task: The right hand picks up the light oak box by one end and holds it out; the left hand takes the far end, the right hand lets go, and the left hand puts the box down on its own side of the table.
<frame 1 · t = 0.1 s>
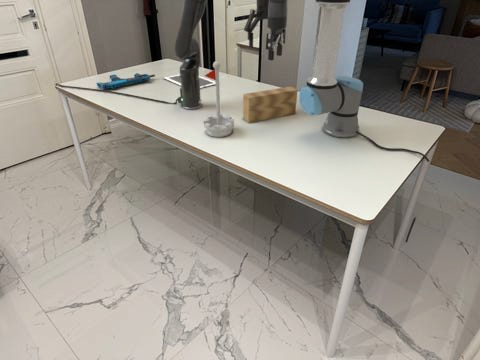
left hand: (275, 57, 141), 29 cm above the table, tool pointing down, fingers open, 8 cm apart
right hand: (263, 45, 167), 28 cm above the table, tool pointing down, fingers open, 13 cm apart
flag stand: (219, 131, 149), on the table
box: (269, 116, 164), on the table
tablet: (190, 81, 211), on the table
submachine gun: (125, 82, 210), on the table
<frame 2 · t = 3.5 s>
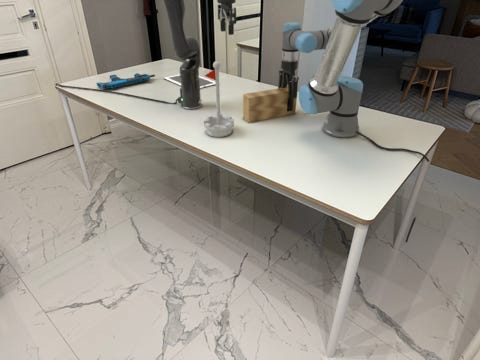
left hand: (227, 32, 146), 37 cm above the table, tool pointing down, fingers open, 8 cm apart
right hand: (286, 108, 166), 2 cm above the table, tool pointing down, fingers closed on box, 6 cm apart
box: (269, 116, 164), on the table, touching right hand
everything else where it was.
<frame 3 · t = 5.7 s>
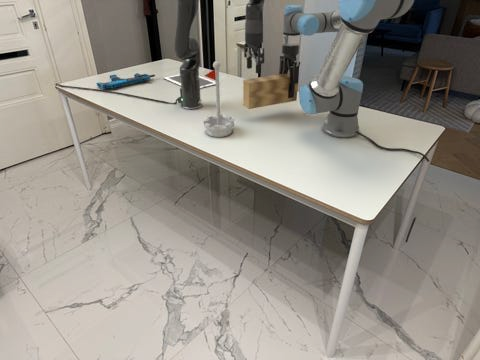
left hand: (253, 70, 148), 23 cm above the table, tool pointing down, fingers open, 8 cm apart
right hand: (287, 95, 162), 9 cm above the table, tool pointing down, fingers closed on box, 6 cm apart
box: (270, 102, 160), point 7 cm above the table, touching right hand
everything else where it was.
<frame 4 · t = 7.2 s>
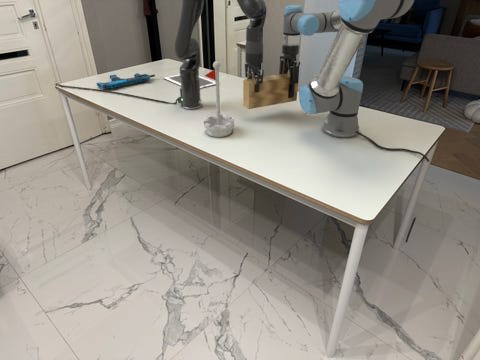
left hand: (253, 89, 153), 14 cm above the table, tool pointing down, fingers closed on box, 6 cm apart
right hand: (287, 95, 162), 9 cm above the table, tool pointing down, fingers closed on box, 6 cm apart
box: (270, 102, 160), point 7 cm above the table, touching right hand, left hand
everything else where it was.
when the right hand's fingers open (9 cm above the table, at t = 8.2 s): box stays where it is, held by the left hand.
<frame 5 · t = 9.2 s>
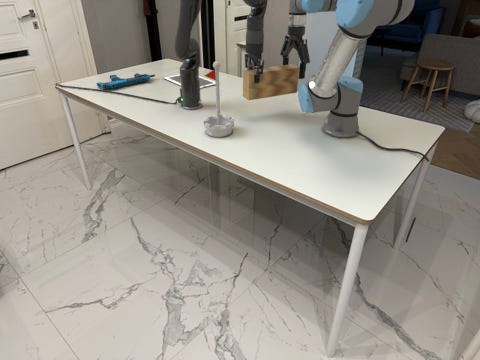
left hand: (253, 80, 151), 18 cm above the table, tool pointing down, fingers closed on box, 6 cm apart
right hand: (293, 75, 158), 18 cm above the table, tool pointing down, fingers open, 13 cm apart
box: (270, 94, 158), point 11 cm above the table, touching left hand
everything else where it was.
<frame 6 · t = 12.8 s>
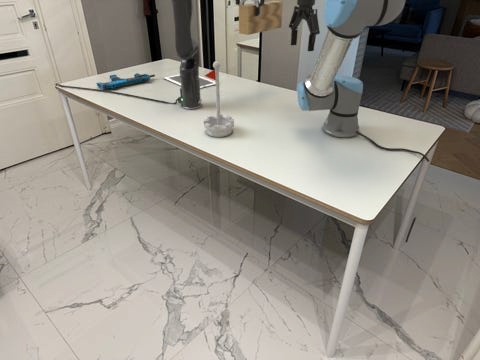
left hand: (249, 15, 158), 42 cm above the table, tool pointing down, fingers closed on box, 7 cm apart
right hand: (301, 48, 153), 30 cm above the table, tool pointing down, fingers open, 13 cm apart
box: (260, 30, 167), point 34 cm above the table, touching left hand
everything else where it was.
when the left hand's fingers open (9 cm above the table, at t = 18.3 s): box drops 2 cm, on the table.
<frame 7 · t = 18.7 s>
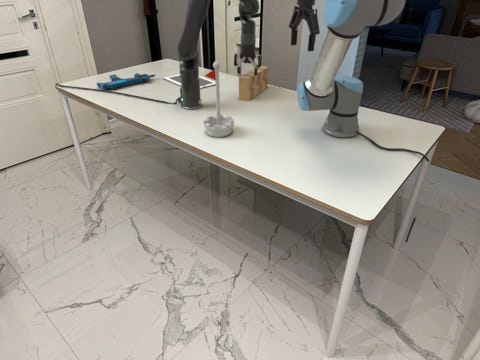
left hand: (247, 74, 180), 12 cm above the table, tool pointing down, fingers open, 8 cm apart
right hand: (301, 48, 153), 30 cm above the table, tool pointing down, fingers open, 13 cm apart
box: (253, 92, 192), on the table
everything else where it was.
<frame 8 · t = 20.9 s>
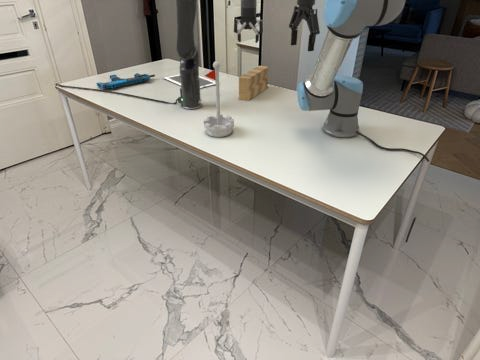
left hand: (248, 42, 171), 29 cm above the table, tool pointing down, fingers open, 8 cm apart
right hand: (301, 48, 153), 30 cm above the table, tool pointing down, fingers open, 13 cm apart
nothing on the table moved.
at the end: box inside the target area (8.1 cm from its centre), on the table; the left hand is holding nothing; the right hand is holding nothing; box at rest at the end (0.0 cm/s) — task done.
